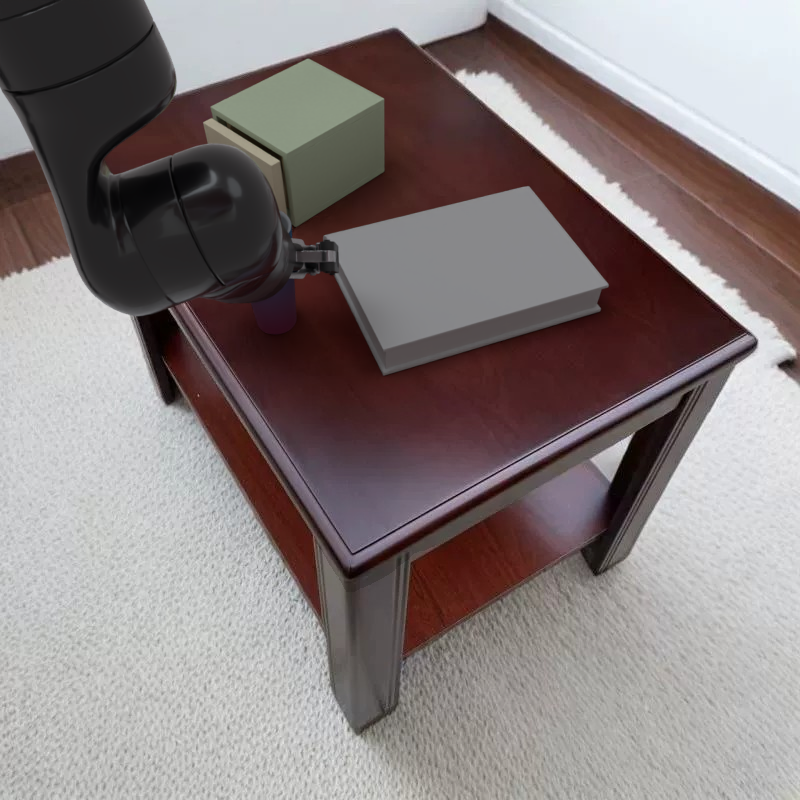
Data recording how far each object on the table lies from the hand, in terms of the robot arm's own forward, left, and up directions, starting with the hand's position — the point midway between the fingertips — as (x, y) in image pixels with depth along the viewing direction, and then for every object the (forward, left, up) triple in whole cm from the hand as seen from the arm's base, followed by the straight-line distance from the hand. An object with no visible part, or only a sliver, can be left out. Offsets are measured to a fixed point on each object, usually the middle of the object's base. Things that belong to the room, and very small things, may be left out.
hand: (268, 263), depth 70 cm
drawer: (-1, +19, -5) cm, 20 cm away
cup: (0, -1, -7) cm, 7 cm away
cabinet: (+2, +23, -6) cm, 24 cm away
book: (+19, +4, -7) cm, 20 cm away
